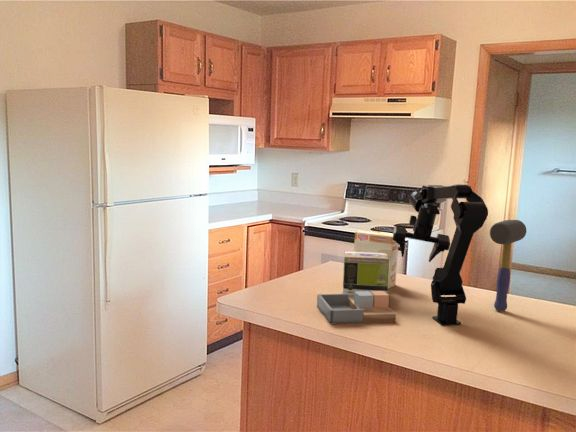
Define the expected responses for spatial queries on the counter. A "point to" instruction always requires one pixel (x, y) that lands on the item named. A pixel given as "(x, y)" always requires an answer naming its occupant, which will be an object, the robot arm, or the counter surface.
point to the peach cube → (380, 299)
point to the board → (374, 313)
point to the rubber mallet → (505, 255)
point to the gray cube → (363, 299)
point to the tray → (338, 309)
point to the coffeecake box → (379, 248)
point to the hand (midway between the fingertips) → (415, 258)
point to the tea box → (365, 272)
